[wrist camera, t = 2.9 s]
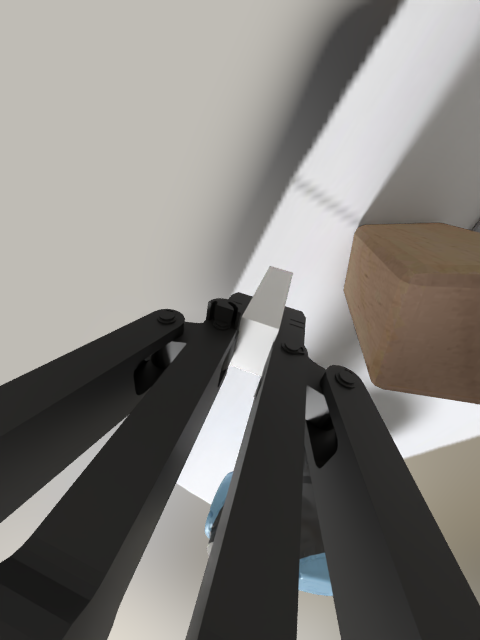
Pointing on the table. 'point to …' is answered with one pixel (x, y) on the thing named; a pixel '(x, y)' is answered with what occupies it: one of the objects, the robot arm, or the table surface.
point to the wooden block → (418, 307)
